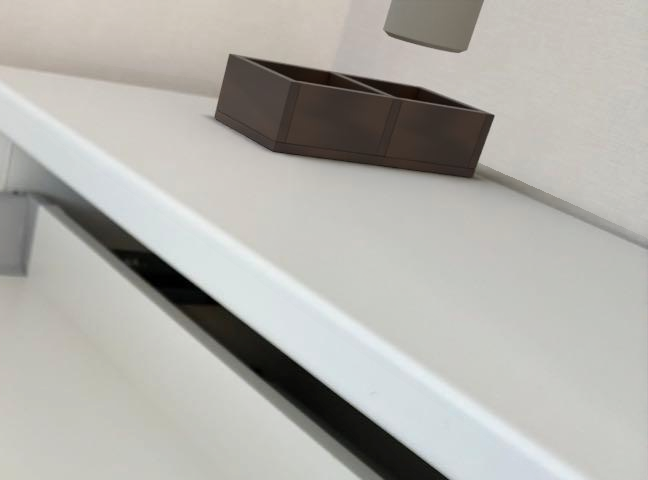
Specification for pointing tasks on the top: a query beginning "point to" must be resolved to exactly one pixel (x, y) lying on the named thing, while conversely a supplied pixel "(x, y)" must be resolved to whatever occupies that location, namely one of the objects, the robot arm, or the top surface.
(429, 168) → the divided wooden tray
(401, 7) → the travel mug
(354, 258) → the top surface
